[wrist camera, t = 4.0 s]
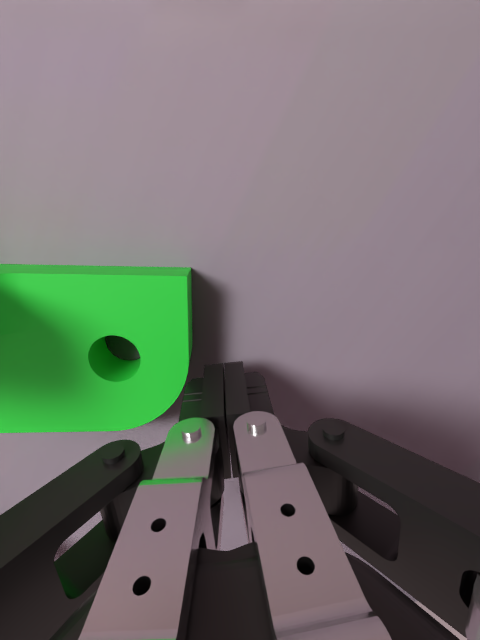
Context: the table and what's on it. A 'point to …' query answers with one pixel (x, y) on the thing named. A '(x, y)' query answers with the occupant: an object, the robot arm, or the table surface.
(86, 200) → the table surface
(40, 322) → the mechanical part
